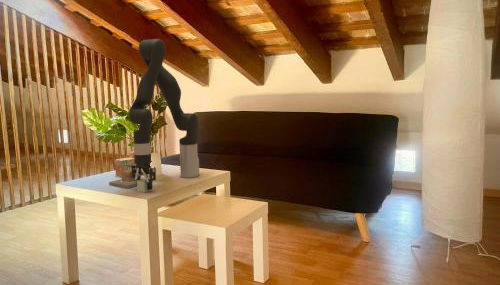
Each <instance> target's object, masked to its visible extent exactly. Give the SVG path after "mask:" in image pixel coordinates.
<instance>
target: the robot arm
mask: <svg viewBox="0 0 500 285" xmlns="http://www.w3.org/2000/svg"><path fill="white" fill-rule="evenodd" d="M138 52H139V55H140V57H141V58H142V60H143V61H144V63H145V65H146V67H147V69H146V70H145V73H144V74H143V76H142V77H141V79H140V80H139V82H138V86H137V91H136V97H135V99H134V101H133V103H132V106H131V107H130V109H129V111H128V119H129V121H130V122H131V124H134V125H139V127H138V129H136V130H134V132H133V151H134V163H135V164H136V165H132V166H131V170H132V178H134V179H135V180H136V187H135V188H137V180H140V179H141V178H142V176H143V177H144V179H146V180H147V190H151V191H152V190H153V182H154V181H156V180H157V178H156V177H157V176H156V175H157V173H156V172H157V168H156V166H155V167H154V168H151V166H150V163H151V162H152V161H151V150H152V146H151V137H150V134H151V129H152V127H153V126H152V124H153V121H154V120H153V118H154V117H153V112H152V111H151V110H150V109H149V108H146V106H148V105H151V103H152V102H153V97H154V91H155V86H156V84H157V87H158V88H159V89H158V90H160V93H161V95H162V97H163V99H164V101H165V102H166V105H167V108H168V109H169V111H170V114H171V117H172V120H173V123H174V125H175V127H176V128H177V129H178V130H179V131H183V132H184V131H185V132H186V134H185V136H183V137H180V138H179V142H178V143H179V163H180V166H179V167H180V168H179V169H180V178H184V179H186V178H187V179H188V178H190V179H191V178H197V177H198V176H200V158H199V157H198V155H199V154H198V140H199V119H198V118H199V117H198V116H197V114H196V113H191V112H189V113H188V112H187V113H185V112H184V111H183V108H182V107H181V99H182V98H181V97H182V90H181V87H180V86H179V85H180V84H179V82H178V81H177V79H176V78H175V76H174V75H173V74H172V73H171V72H170V71H169V70H167V69H166V68H165V67H164V66H163V62H164V59H165V57H166V53H167V46H166V43H165V41H164V40H162V39H160V38H152V39H151V38H150V39H143V40H141V41H140V42H139V44H138ZM134 173H135V175H134Z"/></svg>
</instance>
